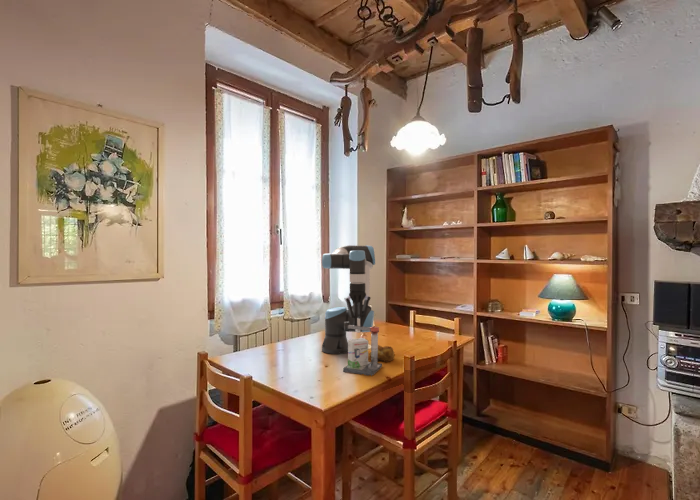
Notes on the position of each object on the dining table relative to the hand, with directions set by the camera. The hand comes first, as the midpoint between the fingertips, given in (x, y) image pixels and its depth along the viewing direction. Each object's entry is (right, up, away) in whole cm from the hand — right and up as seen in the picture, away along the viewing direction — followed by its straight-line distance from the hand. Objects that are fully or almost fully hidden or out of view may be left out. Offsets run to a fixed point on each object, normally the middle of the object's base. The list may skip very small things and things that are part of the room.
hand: (357, 332), depth 178 cm
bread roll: (+13, -17, +11) cm, 24 cm away
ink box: (0, -15, -3) cm, 15 cm away
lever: (+1, +1, -3) cm, 4 cm away
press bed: (+2, -16, -4) cm, 17 cm away
